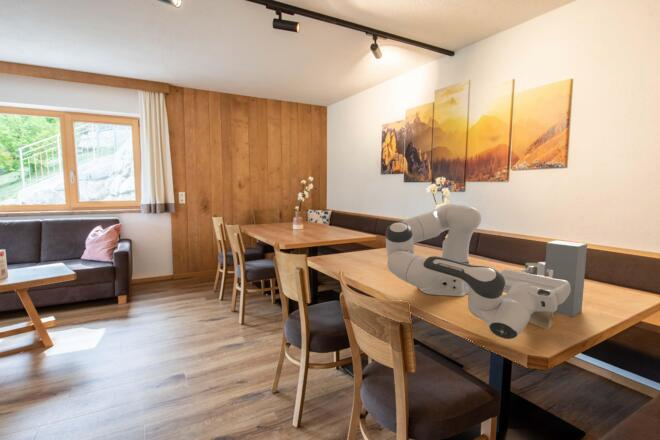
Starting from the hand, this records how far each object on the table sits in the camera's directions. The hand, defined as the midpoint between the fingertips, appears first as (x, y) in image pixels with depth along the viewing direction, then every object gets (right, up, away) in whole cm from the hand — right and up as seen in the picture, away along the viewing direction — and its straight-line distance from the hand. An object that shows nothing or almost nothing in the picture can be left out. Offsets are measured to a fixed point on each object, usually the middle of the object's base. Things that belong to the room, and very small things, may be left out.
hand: (540, 269), depth 112 cm
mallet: (-1, -11, 0) cm, 11 cm away
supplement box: (+29, -16, +40) cm, 52 cm away
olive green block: (+38, -14, +62) cm, 74 cm away
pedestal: (+18, -18, +16) cm, 30 cm away
